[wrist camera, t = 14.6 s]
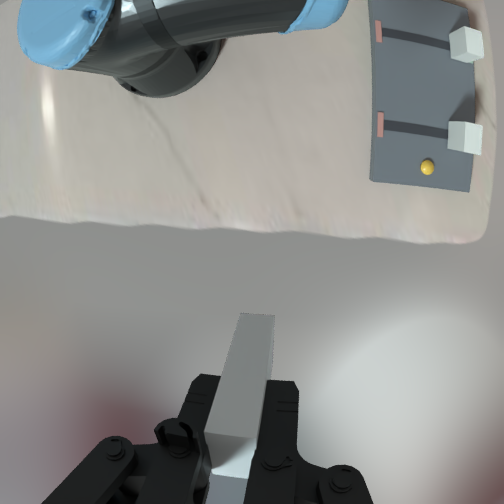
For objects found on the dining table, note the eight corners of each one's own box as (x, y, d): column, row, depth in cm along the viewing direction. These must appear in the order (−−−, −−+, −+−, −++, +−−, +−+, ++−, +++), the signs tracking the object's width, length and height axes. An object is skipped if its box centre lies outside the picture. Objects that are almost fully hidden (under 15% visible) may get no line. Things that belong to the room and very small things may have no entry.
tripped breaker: (448, 121, 31) (465, 121, 27) (464, 124, 31) (482, 125, 27) (447, 148, 33) (464, 152, 28) (463, 151, 32) (480, 155, 28)
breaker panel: (366, -10, 28) (370, -17, 26) (461, 12, 26) (468, 8, 24) (369, 179, 38) (373, 182, 36) (462, 189, 36) (470, 193, 34)
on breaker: (448, 34, 27) (464, 25, 23) (464, 38, 26) (481, 31, 22) (451, 58, 28) (467, 52, 24) (467, 62, 28) (484, 57, 24)
